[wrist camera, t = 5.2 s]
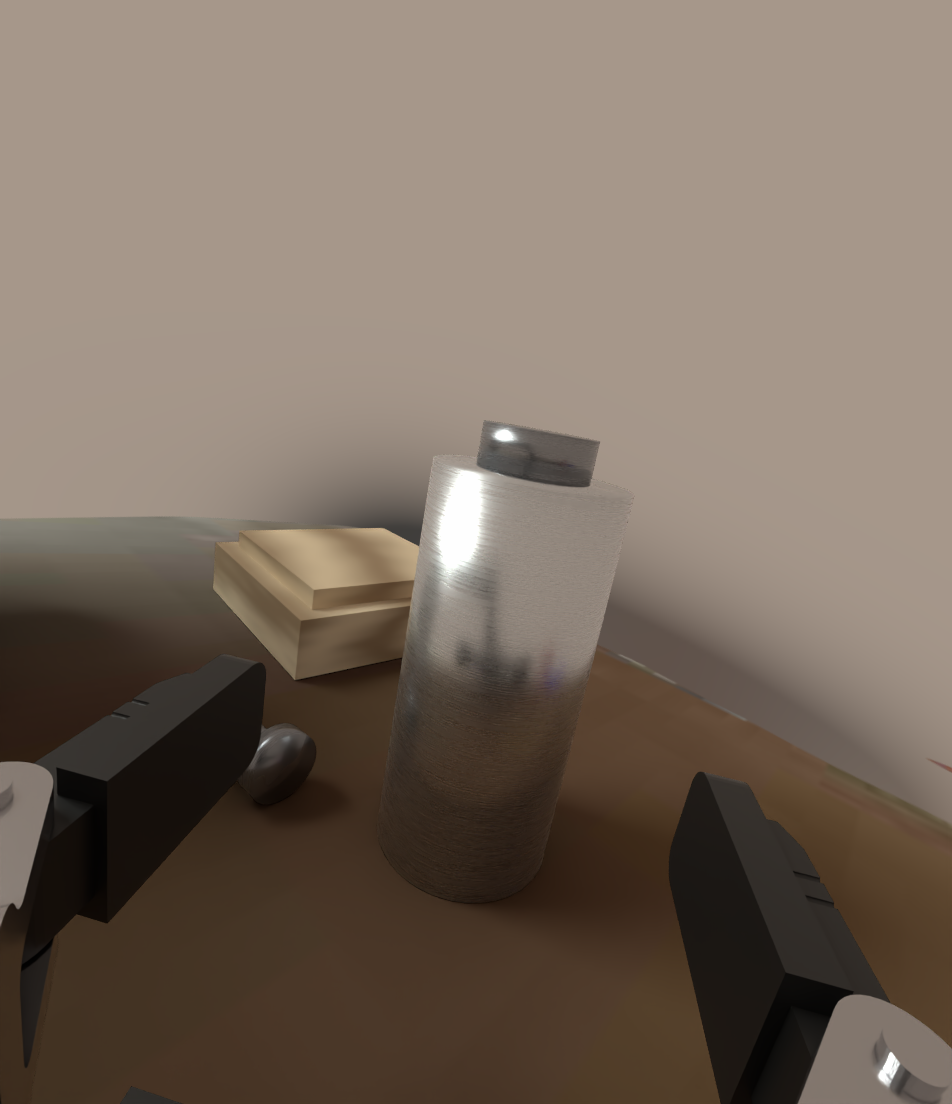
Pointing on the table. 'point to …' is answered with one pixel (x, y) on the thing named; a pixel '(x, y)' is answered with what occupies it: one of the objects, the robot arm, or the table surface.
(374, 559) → the stand
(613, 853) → the table surface
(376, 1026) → the table surface
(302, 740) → the bolt
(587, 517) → the silver metal bottle
